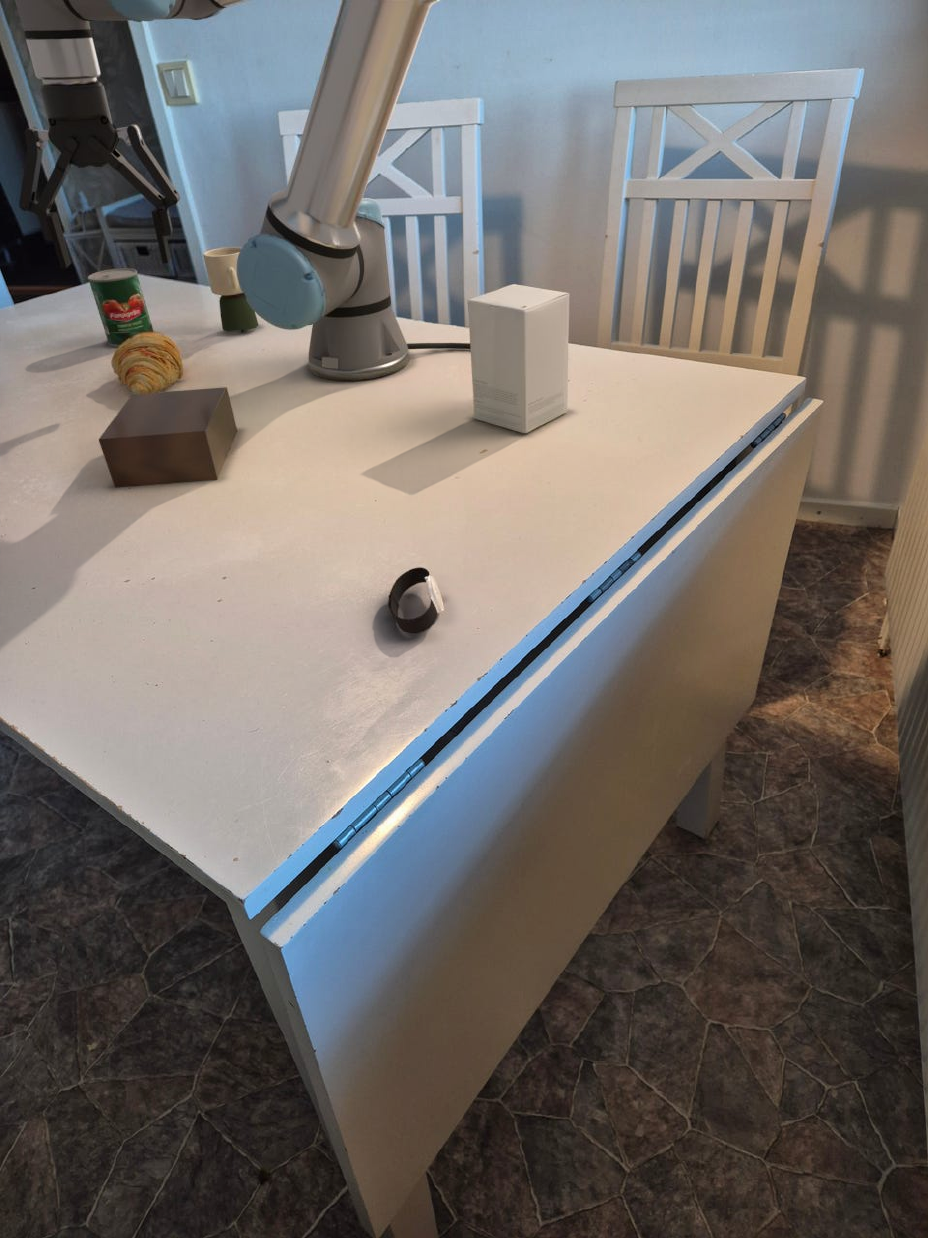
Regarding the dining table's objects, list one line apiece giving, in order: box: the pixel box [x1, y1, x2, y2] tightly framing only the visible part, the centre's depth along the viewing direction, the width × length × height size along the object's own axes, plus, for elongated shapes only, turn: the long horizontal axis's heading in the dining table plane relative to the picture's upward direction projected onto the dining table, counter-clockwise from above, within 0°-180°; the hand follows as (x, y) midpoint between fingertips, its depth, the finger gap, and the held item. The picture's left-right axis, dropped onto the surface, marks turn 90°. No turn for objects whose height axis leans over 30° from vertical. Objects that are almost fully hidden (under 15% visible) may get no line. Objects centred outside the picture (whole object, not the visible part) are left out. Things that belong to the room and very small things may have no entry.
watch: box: [388, 567, 444, 635], centre depth 70 cm, size 8×5×4 cm, turn 5°
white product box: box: [467, 283, 570, 434], centre depth 100 cm, size 9×9×15 cm
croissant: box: [111, 330, 184, 394], centre depth 123 cm, size 21×10×8 cm, turn 11°
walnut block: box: [98, 386, 238, 488], centre depth 98 cm, size 12×14×6 cm
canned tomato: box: [87, 267, 154, 348], centre depth 139 cm, size 8×8×11 cm
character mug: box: [202, 246, 260, 333], centre depth 139 cm, size 11×7×13 cm, turn 22°
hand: (117, 263), depth 113 cm, fingers open, 13 cm apart
